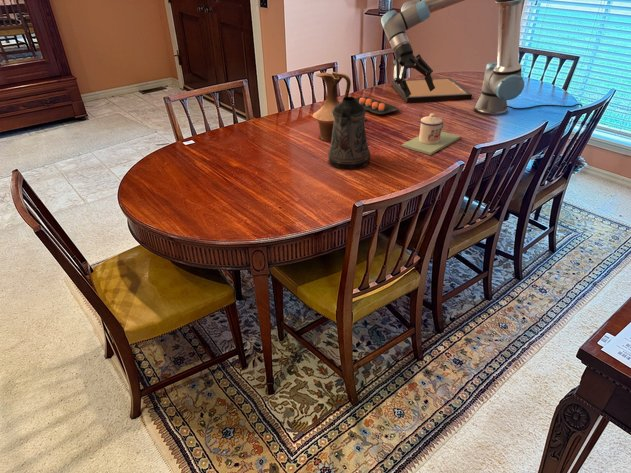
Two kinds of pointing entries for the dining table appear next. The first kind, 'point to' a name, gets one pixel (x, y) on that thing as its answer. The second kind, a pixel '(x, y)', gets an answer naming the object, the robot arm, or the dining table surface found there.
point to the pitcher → (329, 103)
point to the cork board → (433, 91)
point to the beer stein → (348, 136)
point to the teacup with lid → (430, 129)
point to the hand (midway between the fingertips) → (420, 92)
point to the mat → (431, 148)
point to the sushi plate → (375, 106)
